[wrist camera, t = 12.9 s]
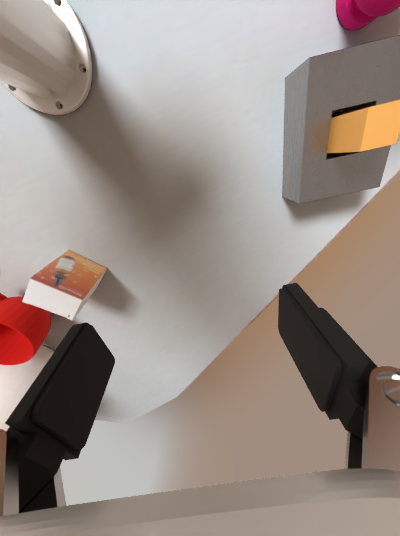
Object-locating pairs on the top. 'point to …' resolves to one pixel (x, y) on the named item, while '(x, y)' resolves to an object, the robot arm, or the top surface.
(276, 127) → the top surface
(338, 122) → the wedge peg
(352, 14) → the pepper mill
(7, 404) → the pitcher
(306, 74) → the socket block
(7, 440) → the robot arm
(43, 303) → the small box
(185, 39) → the top surface
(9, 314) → the ceramic cup
